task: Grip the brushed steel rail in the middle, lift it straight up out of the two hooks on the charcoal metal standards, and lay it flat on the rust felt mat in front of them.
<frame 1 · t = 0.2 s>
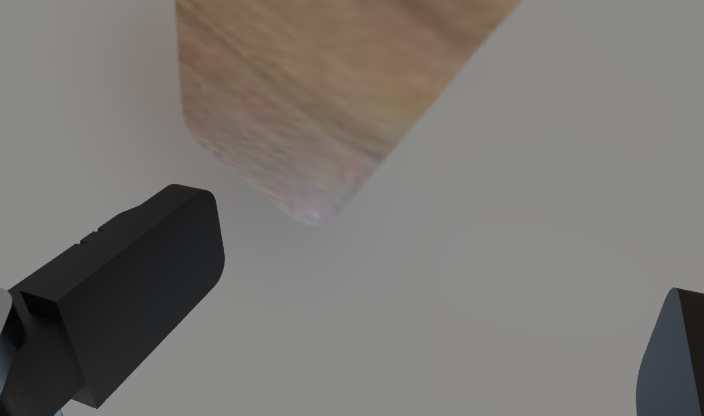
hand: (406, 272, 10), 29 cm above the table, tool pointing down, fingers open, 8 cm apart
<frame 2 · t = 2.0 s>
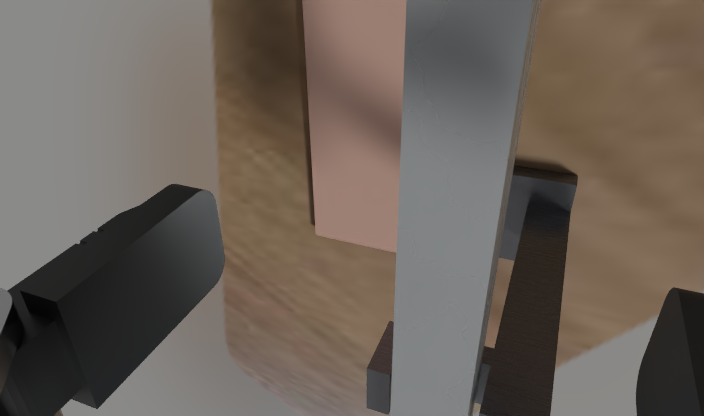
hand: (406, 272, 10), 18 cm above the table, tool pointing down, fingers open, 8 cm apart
hook standards: (524, 32, 24), on the table
felt mat: (374, 20, 26), on the table
steel rail: (470, 138, 14), point 12 cm above the table, touching hook standards
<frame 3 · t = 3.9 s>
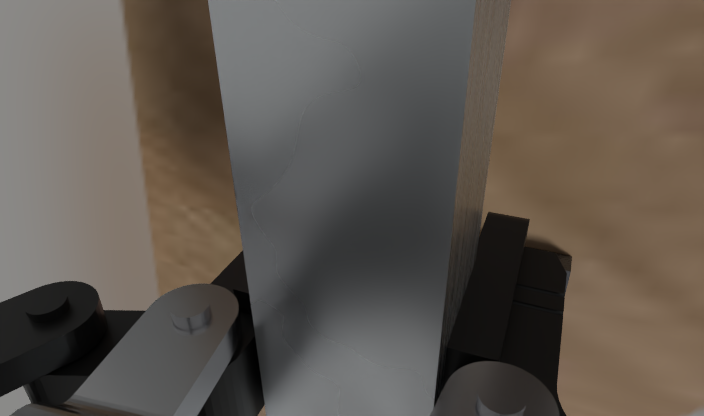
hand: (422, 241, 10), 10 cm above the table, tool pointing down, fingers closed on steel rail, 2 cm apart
steel rail: (396, 296, 9), point 12 cm above the table, touching gripper, hook standards
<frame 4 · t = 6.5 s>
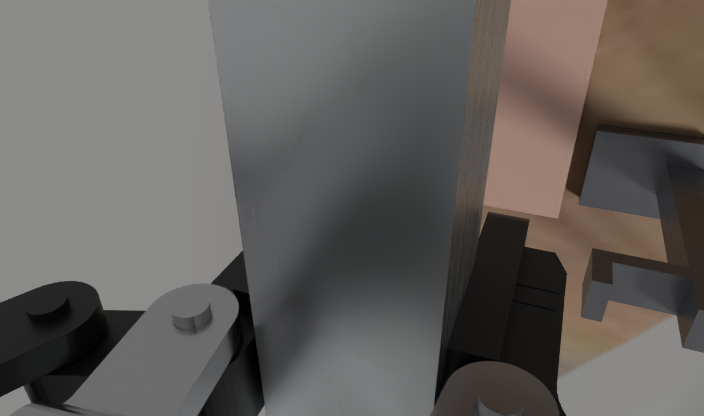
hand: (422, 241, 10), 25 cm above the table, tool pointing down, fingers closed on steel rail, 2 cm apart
hook standards: (678, 13, 28), on the table
felt mat: (537, 4, 30), on the table
steel rail: (396, 298, 9), point 26 cm above the table, touching gripper
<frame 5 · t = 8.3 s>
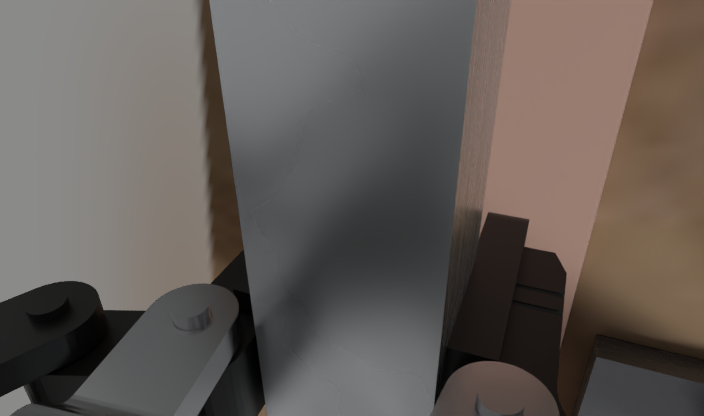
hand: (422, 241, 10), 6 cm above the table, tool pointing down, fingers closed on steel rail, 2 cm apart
felt mat: (478, 125, 15), on the table
steel rail: (396, 299, 9), point 8 cm above the table, touching gripper
when the fingers open (2 cm above the table, at t = 9.5 s): steel rail drops 3 cm, resting on felt mat.
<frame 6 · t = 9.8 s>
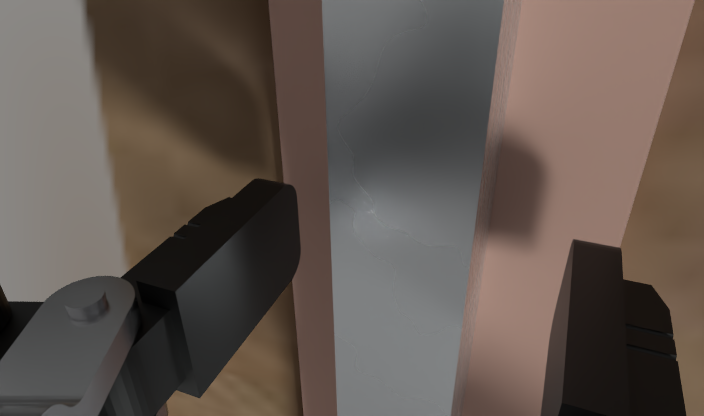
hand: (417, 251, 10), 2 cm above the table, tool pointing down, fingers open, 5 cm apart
felt mat: (441, 202, 12), on the table
steel rail: (430, 218, 11), point 1 cm above the table, touching felt mat
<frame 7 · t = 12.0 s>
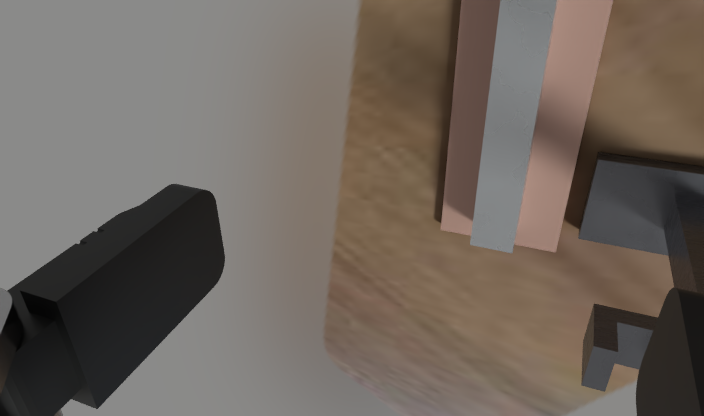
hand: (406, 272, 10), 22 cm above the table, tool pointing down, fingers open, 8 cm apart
hook standards: (688, 31, 25), on the table
felt mat: (531, 21, 27), on the table
steel rail: (528, 24, 27), point 1 cm above the table, touching felt mat
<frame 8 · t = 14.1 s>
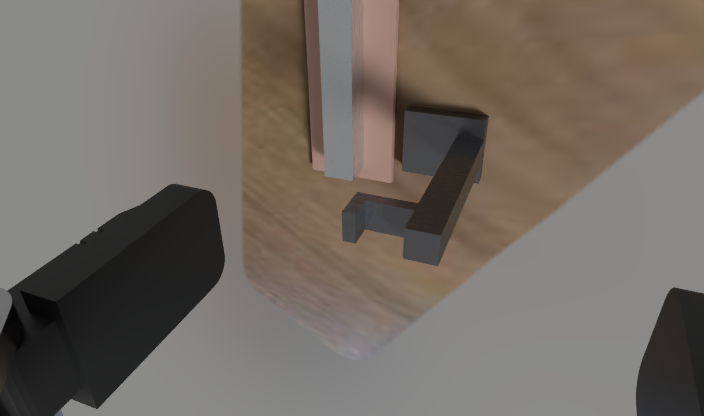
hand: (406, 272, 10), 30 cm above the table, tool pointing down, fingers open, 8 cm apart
hook standards: (448, 18, 36), on the table
felt mat: (352, 12, 39), on the table
steel rail: (347, 14, 38), point 1 cm above the table, touching felt mat
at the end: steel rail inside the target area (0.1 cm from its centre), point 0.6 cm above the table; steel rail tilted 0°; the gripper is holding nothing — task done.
